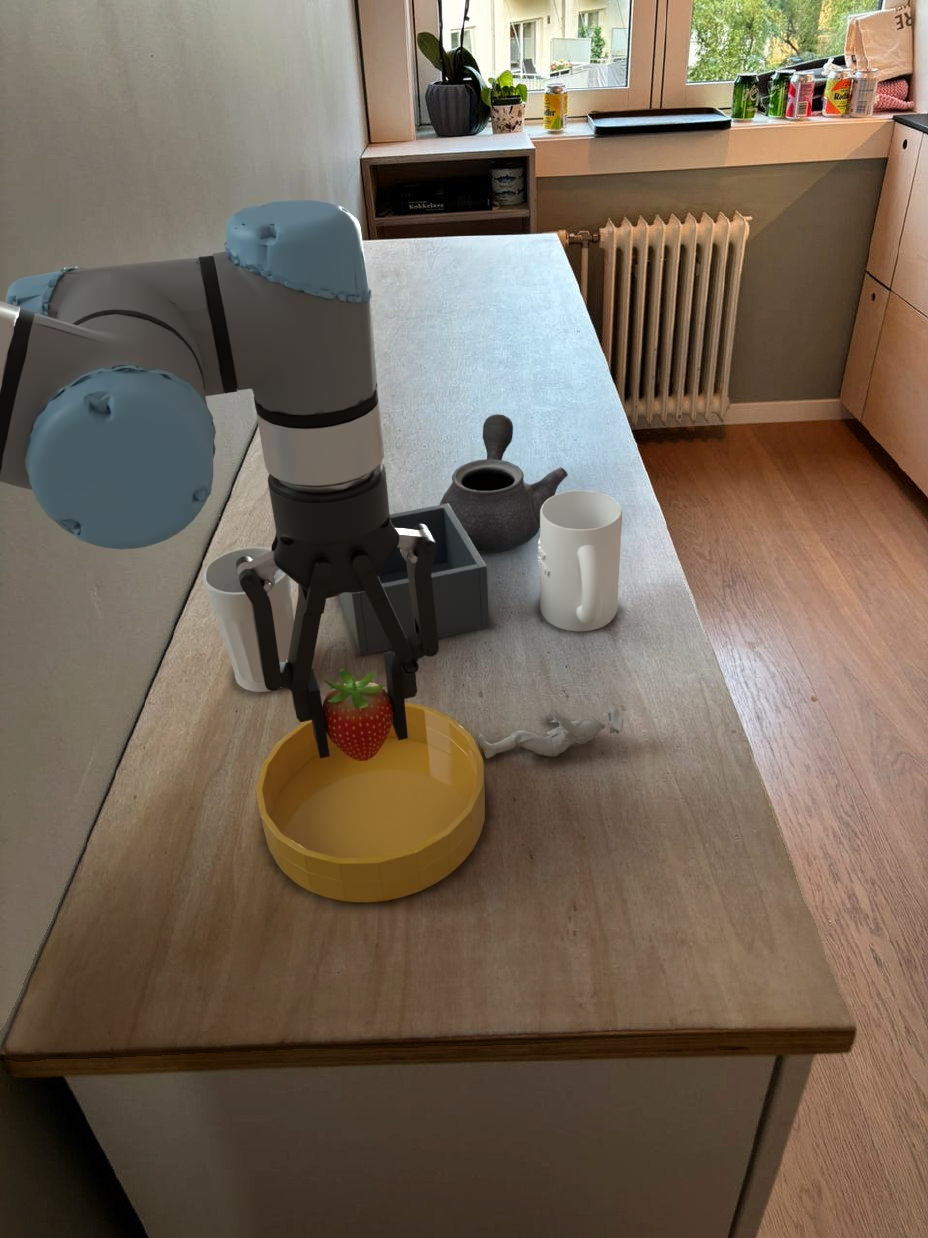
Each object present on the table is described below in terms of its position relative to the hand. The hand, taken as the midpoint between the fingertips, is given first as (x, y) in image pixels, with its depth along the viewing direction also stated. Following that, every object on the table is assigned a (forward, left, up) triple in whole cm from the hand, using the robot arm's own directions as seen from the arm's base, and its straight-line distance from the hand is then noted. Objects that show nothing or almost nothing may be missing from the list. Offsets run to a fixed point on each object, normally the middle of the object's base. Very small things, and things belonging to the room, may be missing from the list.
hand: (360, 736), depth 76 cm
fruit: (0, 0, -2) cm, 2 cm away
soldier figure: (+16, +2, -9) cm, 19 cm away
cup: (-6, +22, -9) cm, 24 cm away
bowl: (0, 0, -9) cm, 9 cm away
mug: (+26, +19, -9) cm, 34 cm away
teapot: (+25, +42, -9) cm, 50 cm away
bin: (+10, +28, -9) cm, 31 cm away
